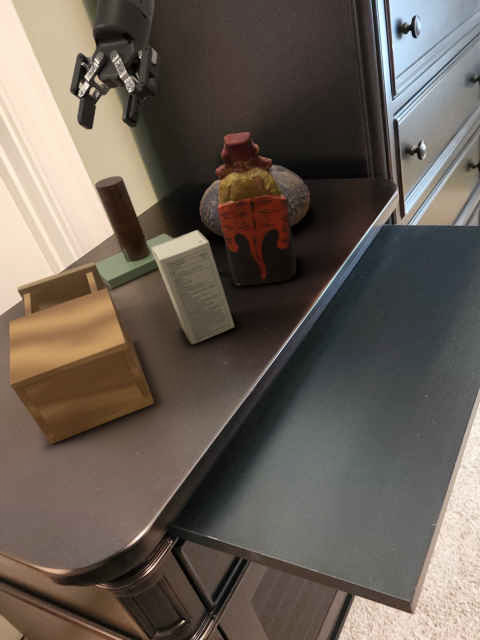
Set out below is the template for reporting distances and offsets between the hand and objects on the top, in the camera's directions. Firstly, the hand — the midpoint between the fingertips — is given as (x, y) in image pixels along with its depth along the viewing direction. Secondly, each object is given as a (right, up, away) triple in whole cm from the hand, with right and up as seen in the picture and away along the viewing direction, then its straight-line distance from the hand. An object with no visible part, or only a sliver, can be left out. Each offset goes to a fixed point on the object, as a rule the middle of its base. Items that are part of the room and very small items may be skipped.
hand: (106, 125), depth 76 cm
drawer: (-2, -30, -4) cm, 30 cm away
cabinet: (+4, -39, -13) cm, 41 cm away
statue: (+22, -21, +2) cm, 31 cm away
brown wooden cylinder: (+1, -16, +10) cm, 19 cm away
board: (+2, -17, +11) cm, 20 cm away
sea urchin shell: (+21, -9, +16) cm, 28 cm away
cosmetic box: (+16, -31, -7) cm, 35 cm away
